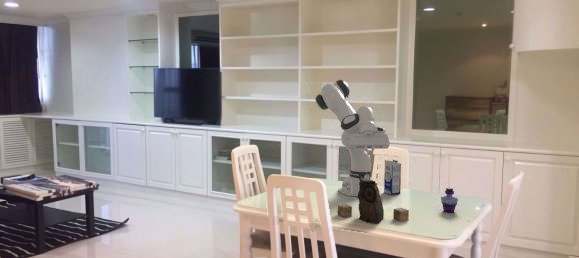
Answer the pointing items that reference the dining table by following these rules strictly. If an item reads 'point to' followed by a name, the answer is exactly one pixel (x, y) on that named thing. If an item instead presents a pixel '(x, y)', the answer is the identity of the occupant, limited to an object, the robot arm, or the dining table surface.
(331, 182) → the dining table surface
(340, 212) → the walnut block one
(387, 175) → the milk carton
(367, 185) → the dark brown speaker
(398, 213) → the walnut block two
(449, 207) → the potion bottle
